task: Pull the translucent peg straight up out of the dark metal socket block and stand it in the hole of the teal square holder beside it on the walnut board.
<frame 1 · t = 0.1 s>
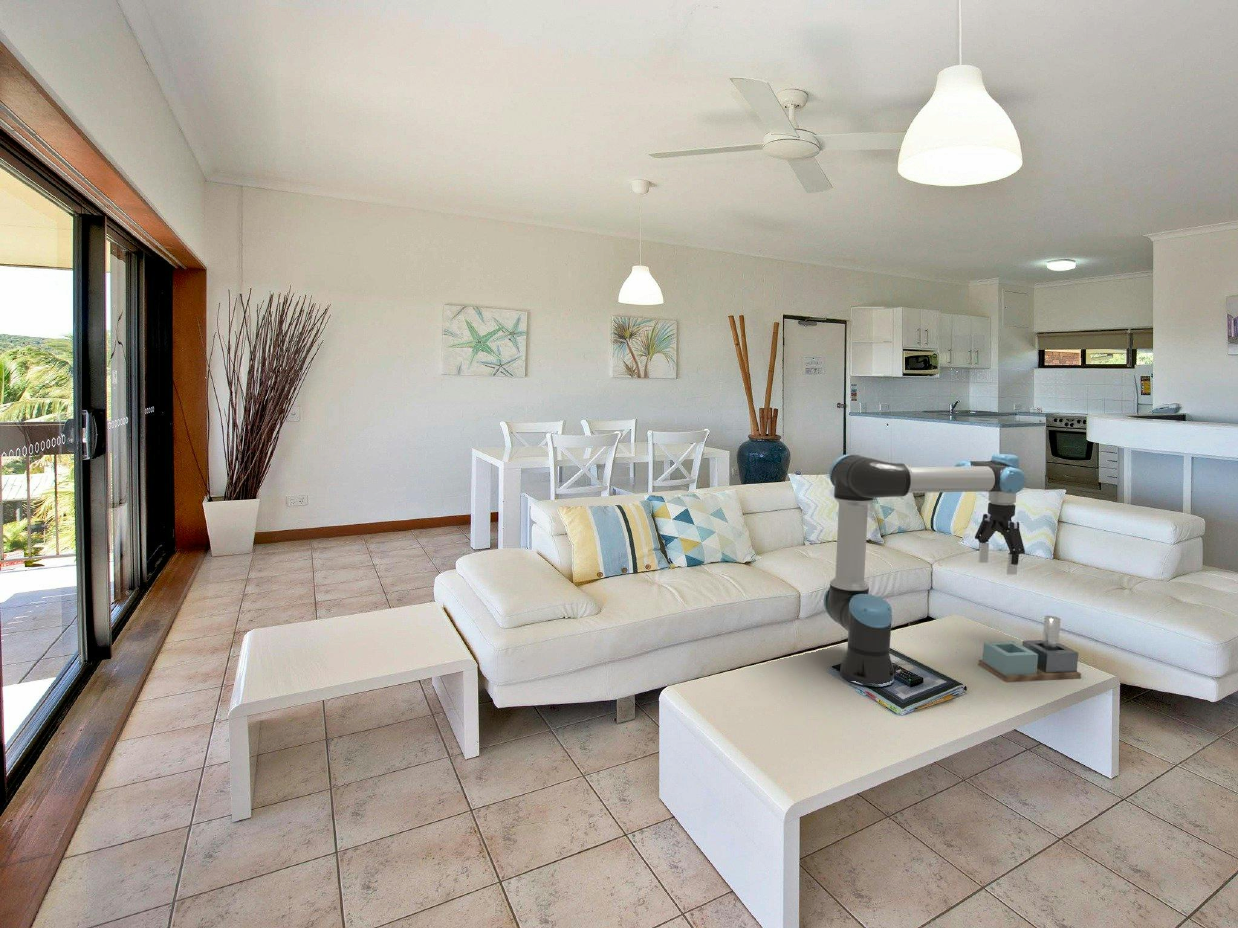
hand: (996, 568, 207), 28 cm above the table, tool pointing down, fingers open, 13 cm apart
socket block: (1048, 665, 196), resting on tool board
translucent peg: (1048, 662, 196), point 2 cm above the table, touching socket block
teal square holder: (1008, 667, 195), resting on tool board
tool board: (1028, 671, 196), on the table
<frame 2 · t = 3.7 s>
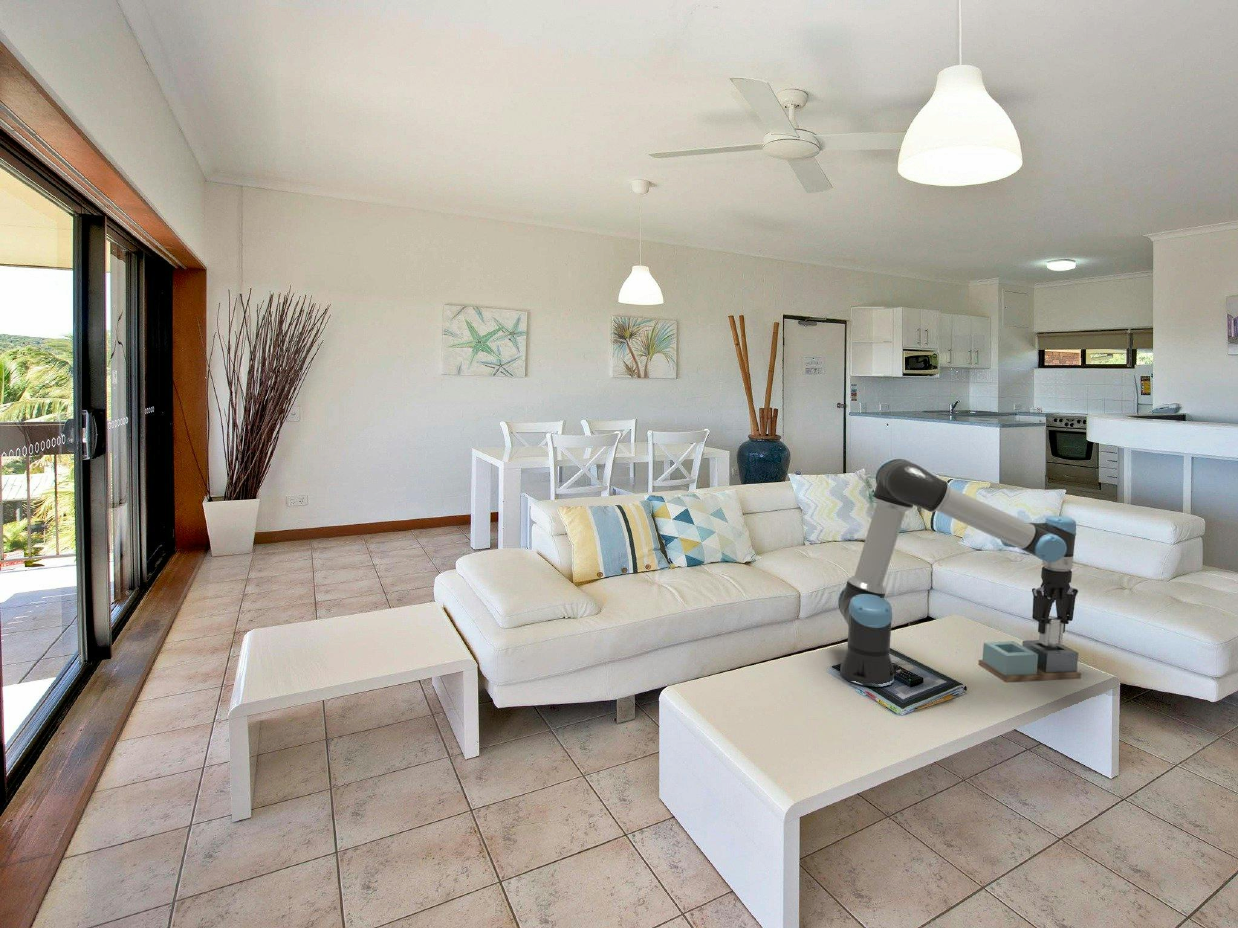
hand: (1050, 642, 196), 9 cm above the table, tool pointing down, fingers closed on translucent peg, 4 cm apart
translucent peg: (1048, 662, 196), point 3 cm above the table, touching gripper, socket block
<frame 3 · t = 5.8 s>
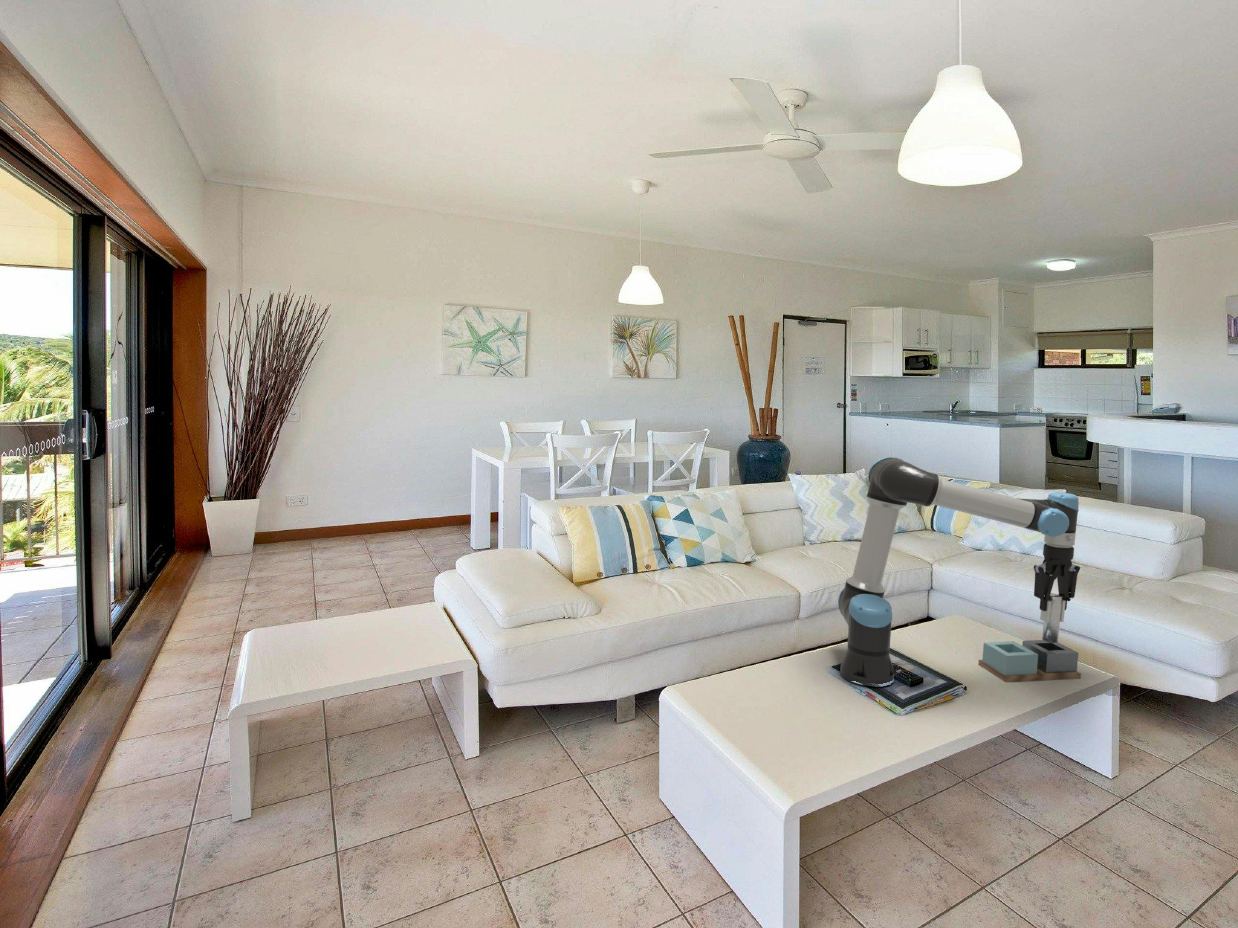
hand: (1051, 620, 195), 16 cm above the table, tool pointing down, fingers closed on translucent peg, 4 cm apart
translucent peg: (1049, 639, 195), point 10 cm above the table, touching gripper
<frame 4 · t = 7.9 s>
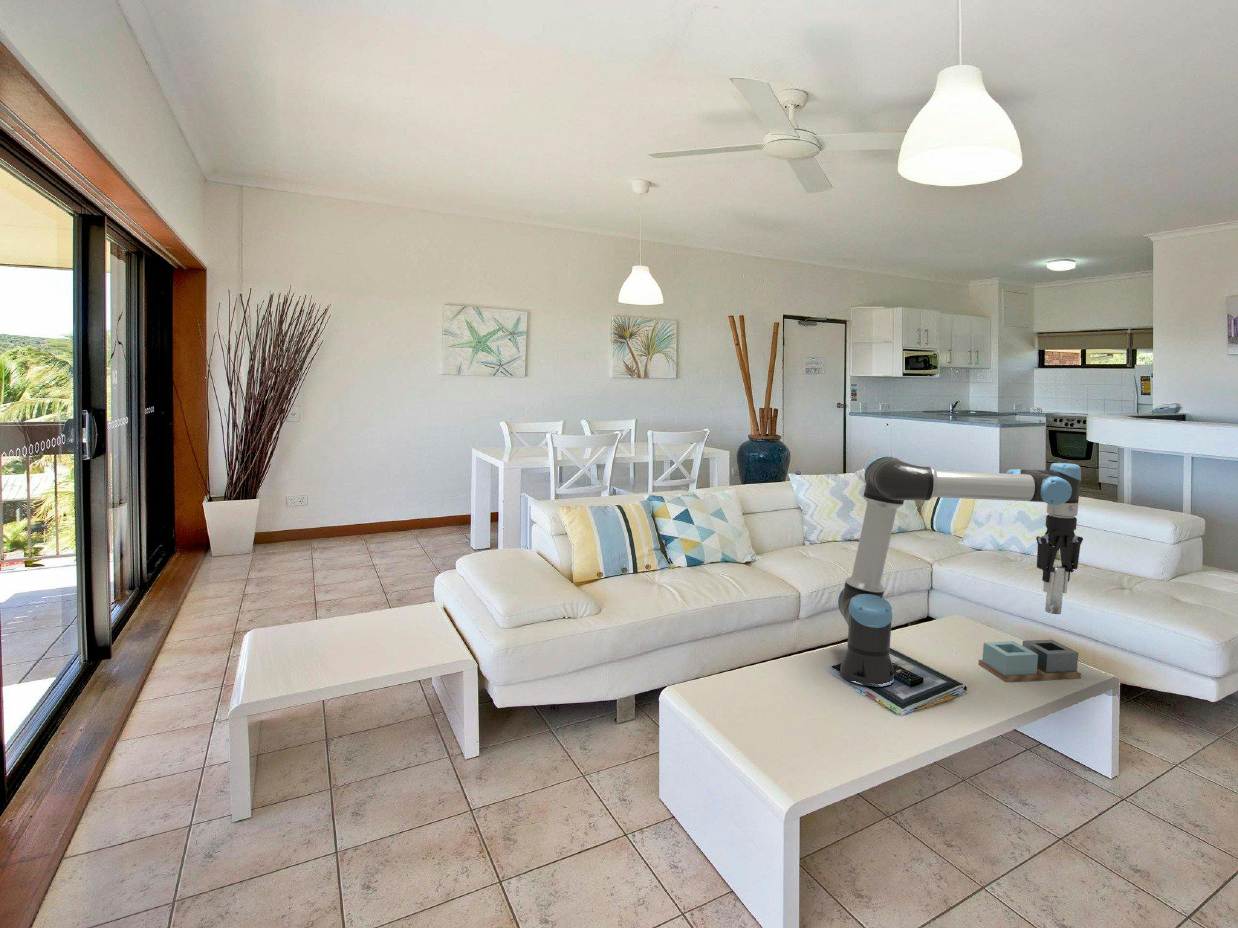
hand: (1054, 591, 194), 25 cm above the table, tool pointing down, fingers closed on translucent peg, 4 cm apart
translucent peg: (1053, 611, 194), point 18 cm above the table, touching gripper
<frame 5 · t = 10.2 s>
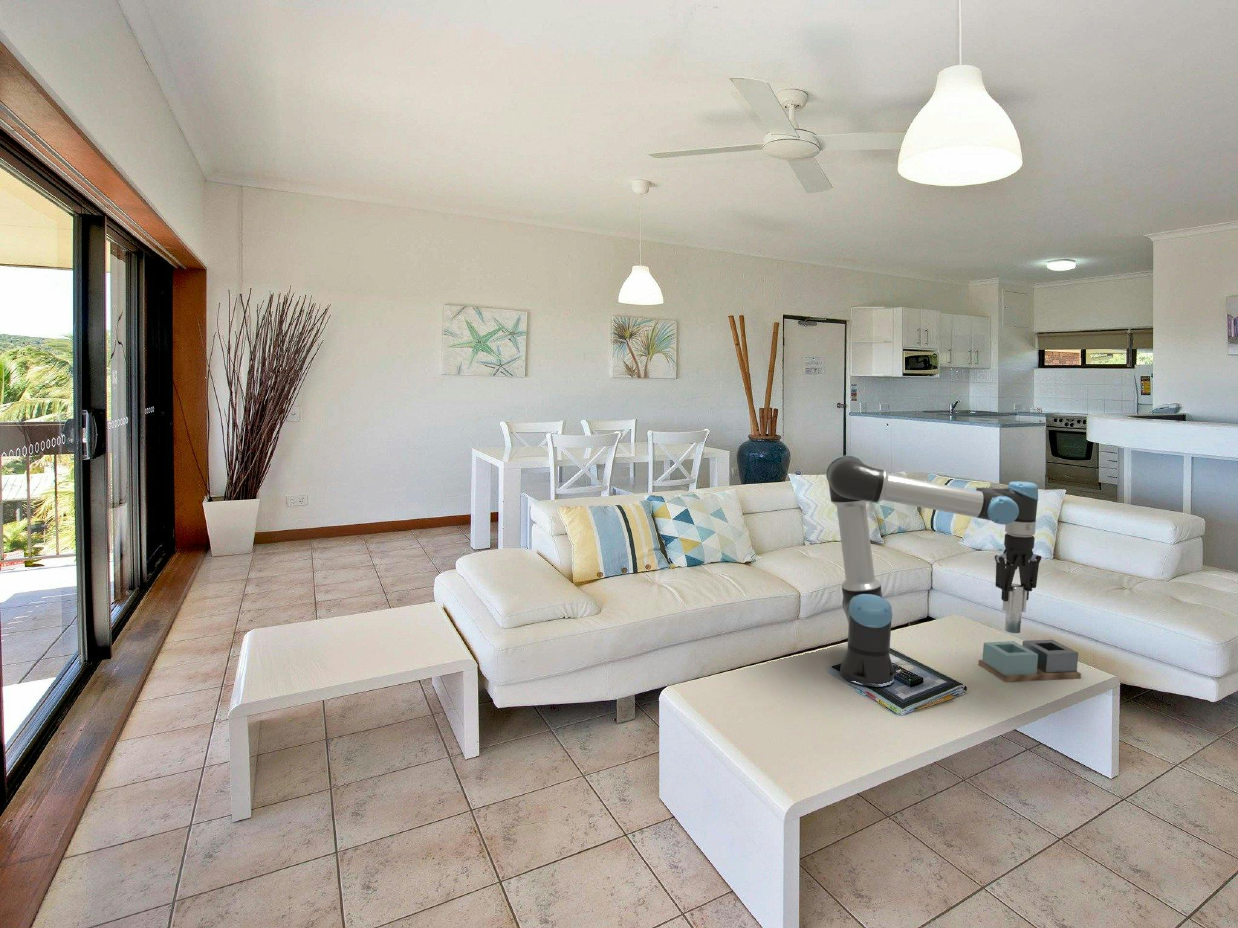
hand: (1013, 610, 193), 19 cm above the table, tool pointing down, fingers closed on translucent peg, 4 cm apart
translucent peg: (1012, 630, 193), point 13 cm above the table, touching gripper
when the fingers open (10 cm above the table, at t = 12.4 s): translucent peg drops 2 cm, resting on teal square holder.
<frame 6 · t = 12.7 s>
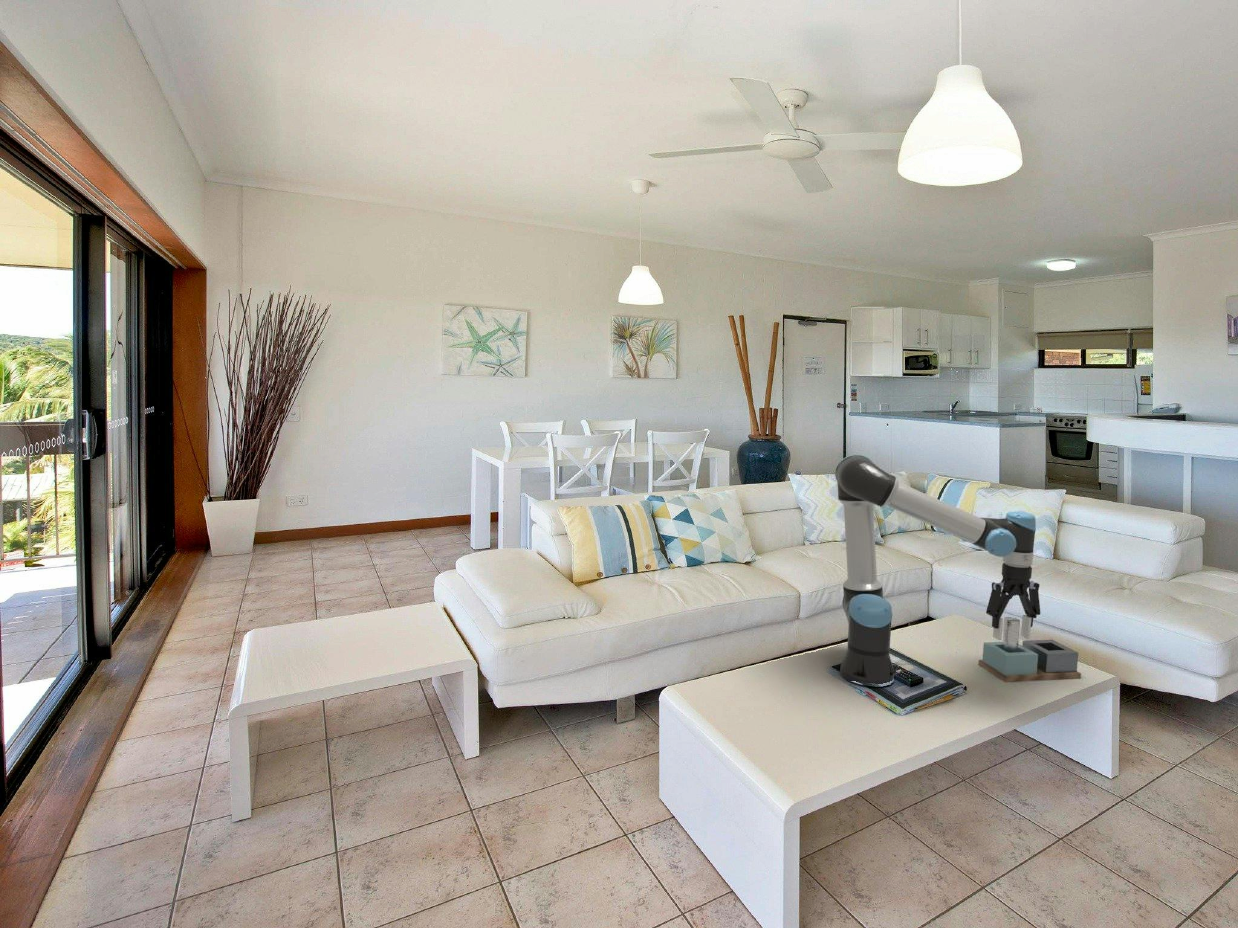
hand: (1011, 637, 194), 11 cm above the table, tool pointing down, fingers open, 8 cm apart
translucent peg: (1009, 664, 195), point 3 cm above the table, touching teal square holder
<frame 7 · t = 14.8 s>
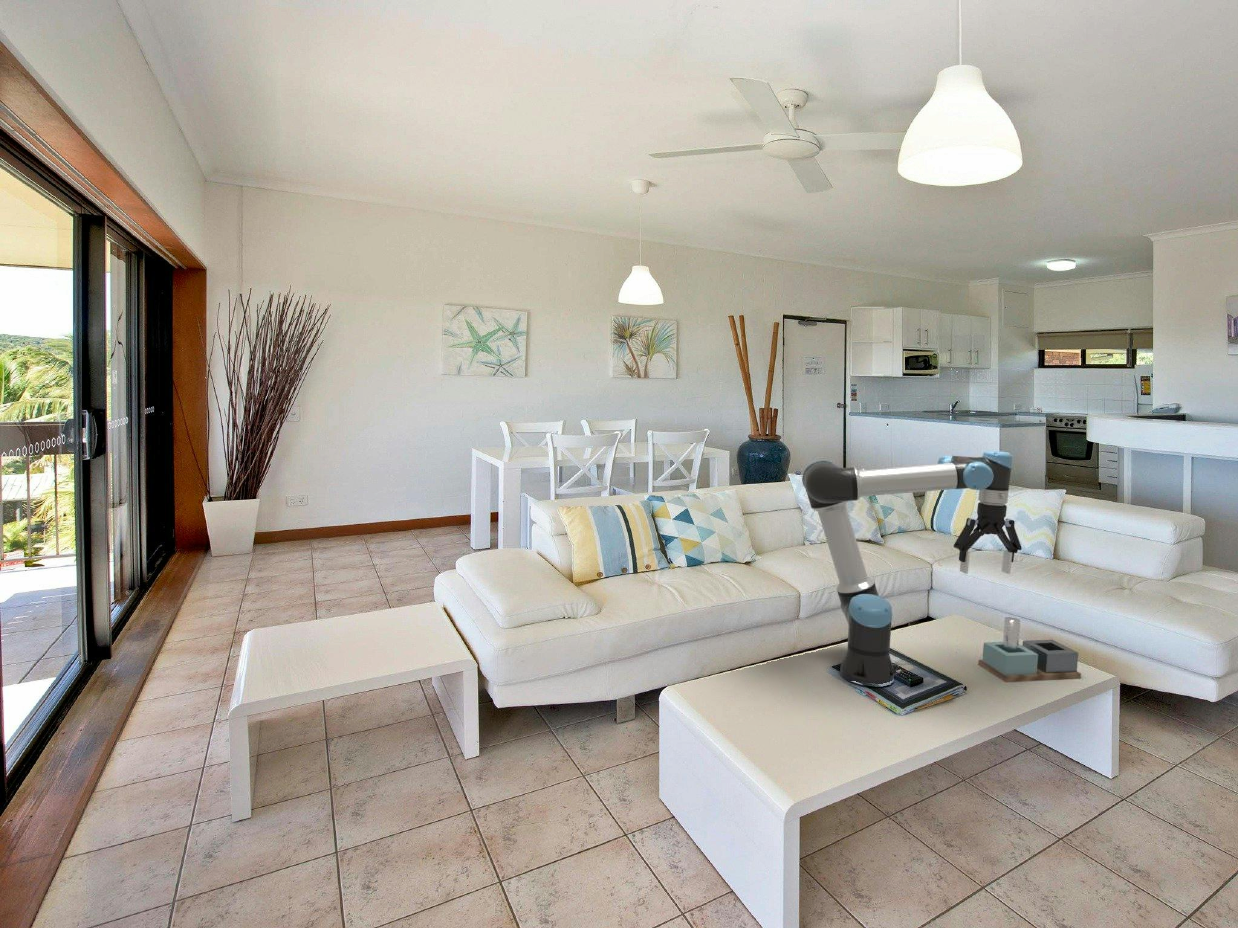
hand: (984, 572, 195), 30 cm above the table, tool pointing down, fingers open, 13 cm apart
nothing on the table moved.
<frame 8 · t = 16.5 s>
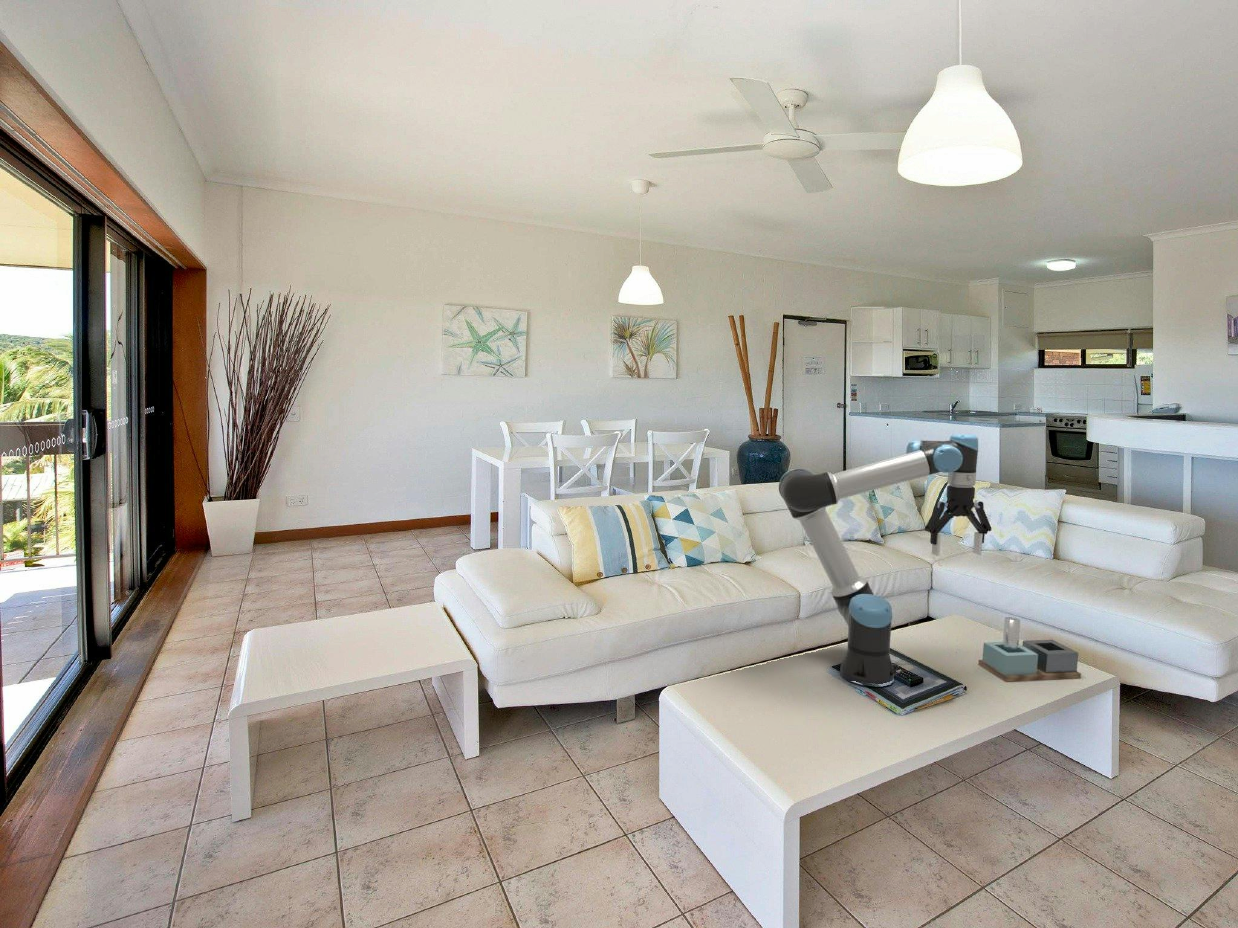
hand: (956, 554, 197), 35 cm above the table, tool pointing down, fingers open, 13 cm apart
nothing on the table moved.
at the end: translucent peg 0.0 cm off-centre on the teal square holder, point 1.0 cm above the teal square holder's base; translucent peg tilted 0°; the gripper is holding nothing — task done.
